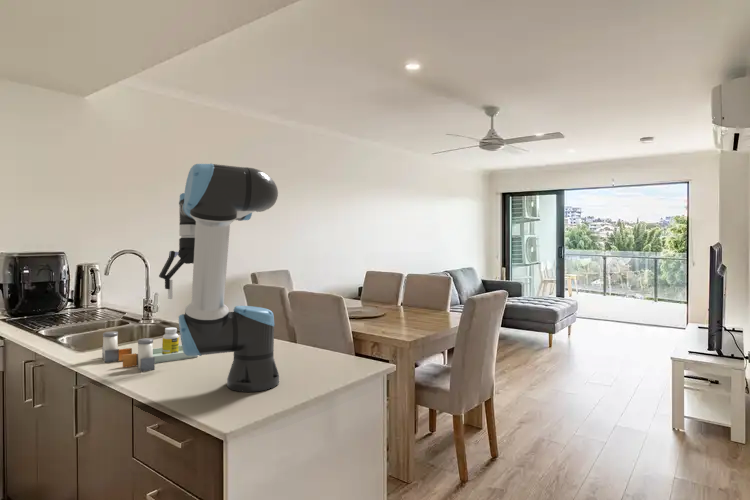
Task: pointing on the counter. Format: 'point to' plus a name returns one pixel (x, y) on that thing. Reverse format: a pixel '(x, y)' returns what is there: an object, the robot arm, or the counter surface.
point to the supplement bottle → (170, 341)
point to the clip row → (129, 358)
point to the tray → (170, 355)
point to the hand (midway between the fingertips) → (190, 297)
